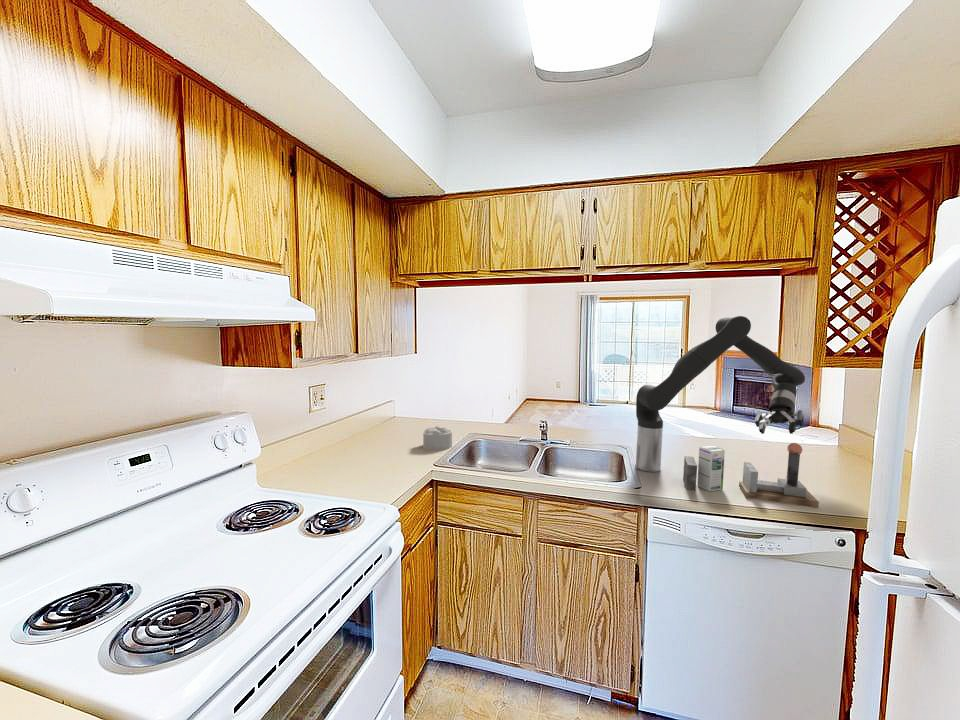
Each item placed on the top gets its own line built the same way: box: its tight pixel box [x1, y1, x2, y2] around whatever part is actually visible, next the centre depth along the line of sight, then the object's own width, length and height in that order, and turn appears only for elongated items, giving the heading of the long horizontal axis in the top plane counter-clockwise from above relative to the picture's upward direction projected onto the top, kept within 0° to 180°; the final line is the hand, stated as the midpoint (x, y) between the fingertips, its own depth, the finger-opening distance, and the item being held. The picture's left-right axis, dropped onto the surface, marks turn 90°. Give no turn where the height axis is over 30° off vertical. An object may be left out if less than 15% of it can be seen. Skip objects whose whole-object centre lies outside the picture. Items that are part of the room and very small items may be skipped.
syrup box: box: [697, 445, 726, 492], centre depth 147 cm, size 6×6×14 cm
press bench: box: [682, 455, 820, 509], centre depth 143 cm, size 38×10×9 cm, turn 69°
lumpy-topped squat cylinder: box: [422, 425, 453, 451], centre depth 191 cm, size 10×13×9 cm
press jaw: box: [742, 442, 808, 498], centre depth 140 cm, size 16×10×17 cm, turn 69°
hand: (775, 431), depth 146 cm, fingers open, 8 cm apart
